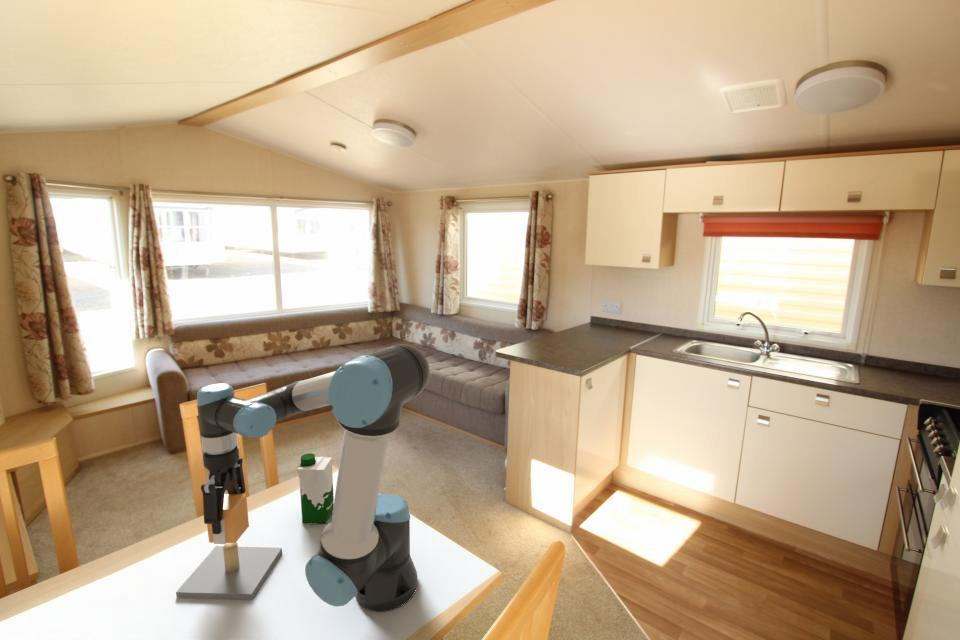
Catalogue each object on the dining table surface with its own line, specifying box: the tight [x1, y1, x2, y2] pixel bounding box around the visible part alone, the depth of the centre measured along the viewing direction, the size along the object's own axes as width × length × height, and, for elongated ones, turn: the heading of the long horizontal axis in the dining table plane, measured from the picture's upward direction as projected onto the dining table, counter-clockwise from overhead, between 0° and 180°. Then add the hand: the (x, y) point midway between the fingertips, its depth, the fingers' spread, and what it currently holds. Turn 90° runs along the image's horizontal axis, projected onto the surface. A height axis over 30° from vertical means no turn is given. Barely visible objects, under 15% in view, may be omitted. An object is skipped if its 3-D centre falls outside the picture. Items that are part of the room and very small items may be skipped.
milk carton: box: [296, 452, 335, 525], centre depth 136 cm, size 9×9×20 cm
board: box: [175, 542, 283, 601], centre depth 113 cm, size 18×16×8 cm
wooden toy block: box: [206, 493, 250, 544], centre depth 111 cm, size 6×6×9 cm
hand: (228, 533), depth 112 cm, fingers closed on wooden toy block, 6 cm apart
